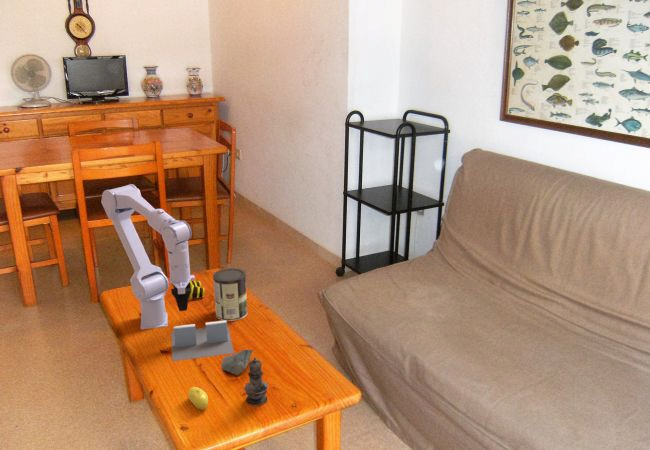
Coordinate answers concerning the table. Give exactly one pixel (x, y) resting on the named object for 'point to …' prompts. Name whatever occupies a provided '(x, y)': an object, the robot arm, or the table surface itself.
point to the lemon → (198, 398)
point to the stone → (236, 362)
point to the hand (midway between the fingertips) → (182, 306)
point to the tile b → (216, 331)
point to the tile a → (185, 335)
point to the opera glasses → (196, 289)
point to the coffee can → (230, 294)
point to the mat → (201, 347)
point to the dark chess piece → (256, 385)
